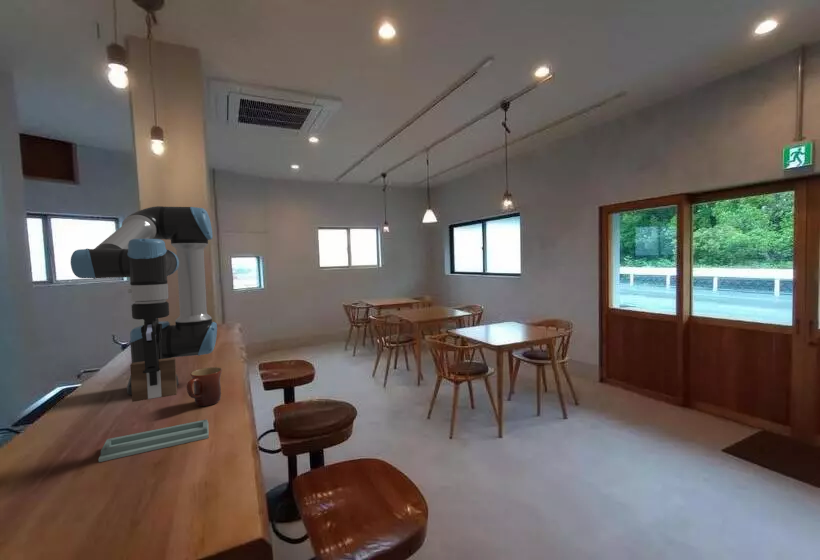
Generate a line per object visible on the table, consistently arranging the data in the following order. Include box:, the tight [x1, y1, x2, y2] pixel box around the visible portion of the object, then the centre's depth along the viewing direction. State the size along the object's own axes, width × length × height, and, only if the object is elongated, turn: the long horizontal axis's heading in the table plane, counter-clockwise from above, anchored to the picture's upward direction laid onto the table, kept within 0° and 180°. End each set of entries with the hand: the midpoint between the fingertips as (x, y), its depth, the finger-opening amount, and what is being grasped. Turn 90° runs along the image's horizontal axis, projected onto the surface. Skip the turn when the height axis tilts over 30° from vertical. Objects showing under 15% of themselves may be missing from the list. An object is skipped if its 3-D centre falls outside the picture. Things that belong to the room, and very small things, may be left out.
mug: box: [186, 366, 223, 407], centre depth 116 cm, size 12×9×10 cm
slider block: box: [129, 357, 178, 403], centre depth 92 cm, size 3×9×9 cm, turn 119°
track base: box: [98, 418, 210, 463], centre depth 93 cm, size 9×22×2 cm, turn 119°
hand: (155, 395), depth 92 cm, fingers closed on slider block, 3 cm apart
